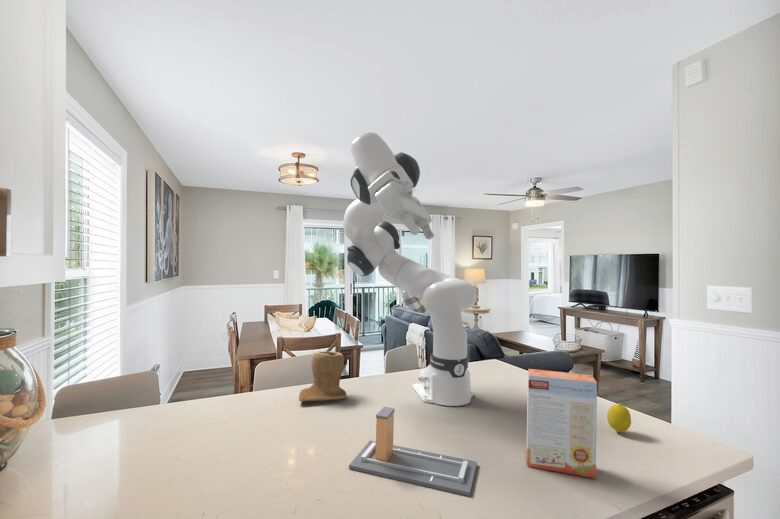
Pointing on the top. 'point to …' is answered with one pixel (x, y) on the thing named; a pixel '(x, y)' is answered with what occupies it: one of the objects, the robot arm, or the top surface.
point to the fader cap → (384, 433)
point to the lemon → (619, 417)
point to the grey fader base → (419, 468)
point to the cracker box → (562, 422)
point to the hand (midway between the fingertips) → (424, 235)
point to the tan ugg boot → (325, 378)
